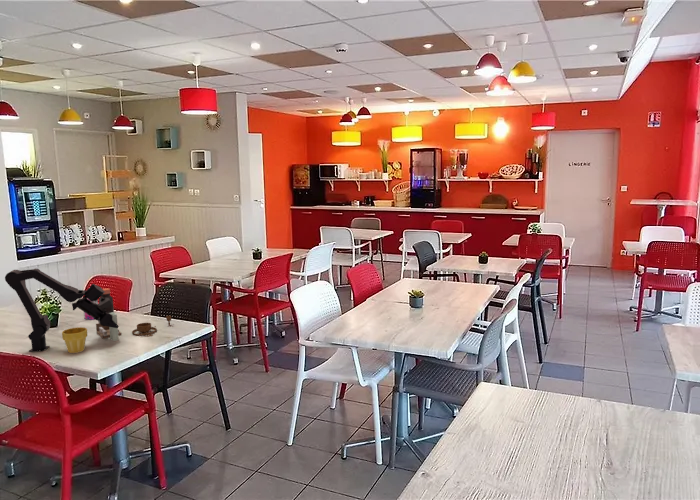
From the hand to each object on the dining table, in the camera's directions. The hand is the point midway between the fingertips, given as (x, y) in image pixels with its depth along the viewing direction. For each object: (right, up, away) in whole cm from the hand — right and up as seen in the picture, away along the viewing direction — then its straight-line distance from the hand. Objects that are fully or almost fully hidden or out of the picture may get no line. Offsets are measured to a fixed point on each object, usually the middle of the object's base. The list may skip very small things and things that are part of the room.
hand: (115, 325), depth 257 cm
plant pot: (-11, -10, -15) cm, 21 cm away
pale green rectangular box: (-1, -7, 0) cm, 7 cm away
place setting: (+14, -6, +13) cm, 20 cm away
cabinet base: (-7, -6, +8) cm, 12 cm away
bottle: (-15, -4, +25) cm, 29 cm away
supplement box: (-31, -2, +39) cm, 49 cm away
